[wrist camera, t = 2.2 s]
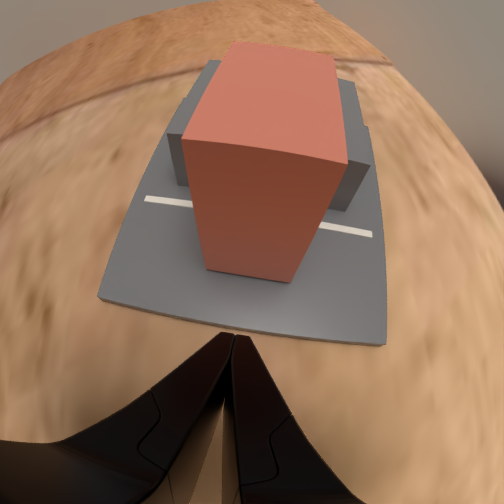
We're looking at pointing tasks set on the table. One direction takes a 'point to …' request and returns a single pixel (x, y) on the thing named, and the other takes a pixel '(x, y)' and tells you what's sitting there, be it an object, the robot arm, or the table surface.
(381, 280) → the socket dock
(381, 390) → the table surface
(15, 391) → the table surface
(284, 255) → the plug
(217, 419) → the robot arm
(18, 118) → the table surface
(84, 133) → the table surface
